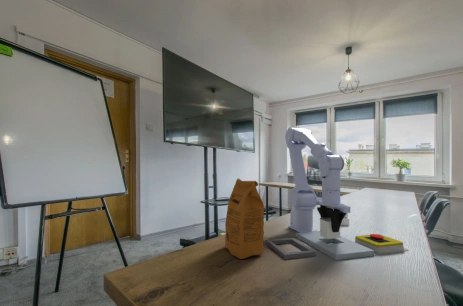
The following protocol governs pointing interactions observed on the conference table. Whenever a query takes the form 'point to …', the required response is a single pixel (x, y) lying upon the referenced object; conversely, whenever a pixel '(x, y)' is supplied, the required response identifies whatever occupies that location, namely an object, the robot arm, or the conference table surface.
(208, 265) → the conference table surface
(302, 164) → the robot arm
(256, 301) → the conference table surface
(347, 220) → the white angled block
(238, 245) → the coffee package
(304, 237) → the port plate
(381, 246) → the emergency button
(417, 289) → the conference table surface
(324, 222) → the grey block
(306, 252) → the grey square frame
